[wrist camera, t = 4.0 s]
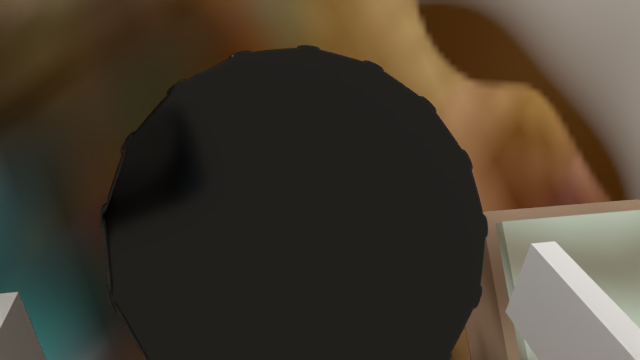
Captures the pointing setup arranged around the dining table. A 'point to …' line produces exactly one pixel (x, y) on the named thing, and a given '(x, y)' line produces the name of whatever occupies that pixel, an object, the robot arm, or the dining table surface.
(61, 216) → the dining table surface
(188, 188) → the ink bottle
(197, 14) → the dining table surface
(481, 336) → the mat platform
